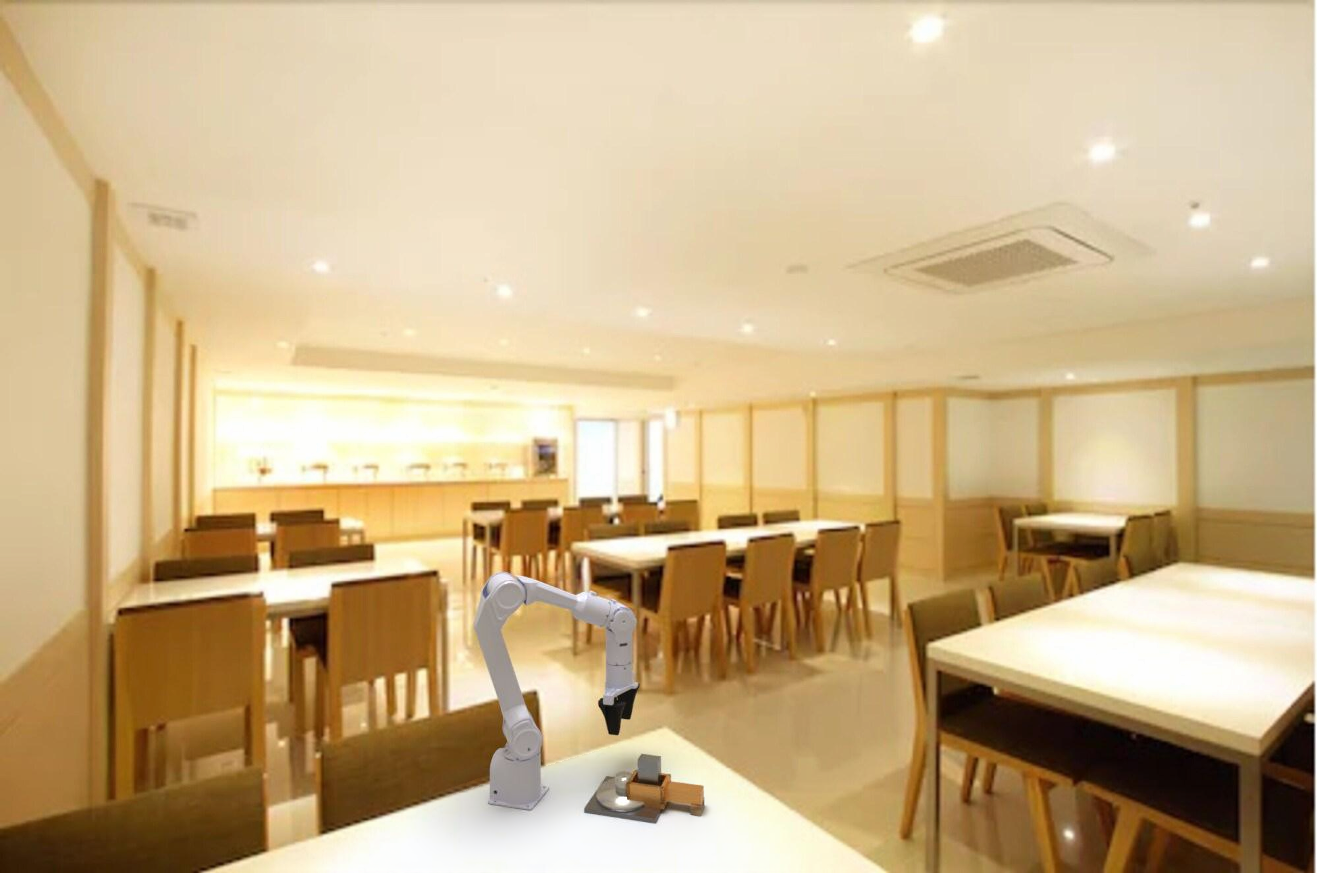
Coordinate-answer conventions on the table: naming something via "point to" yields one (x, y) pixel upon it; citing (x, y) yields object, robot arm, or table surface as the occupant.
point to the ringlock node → (642, 797)
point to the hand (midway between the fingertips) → (619, 726)
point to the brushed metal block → (649, 769)
